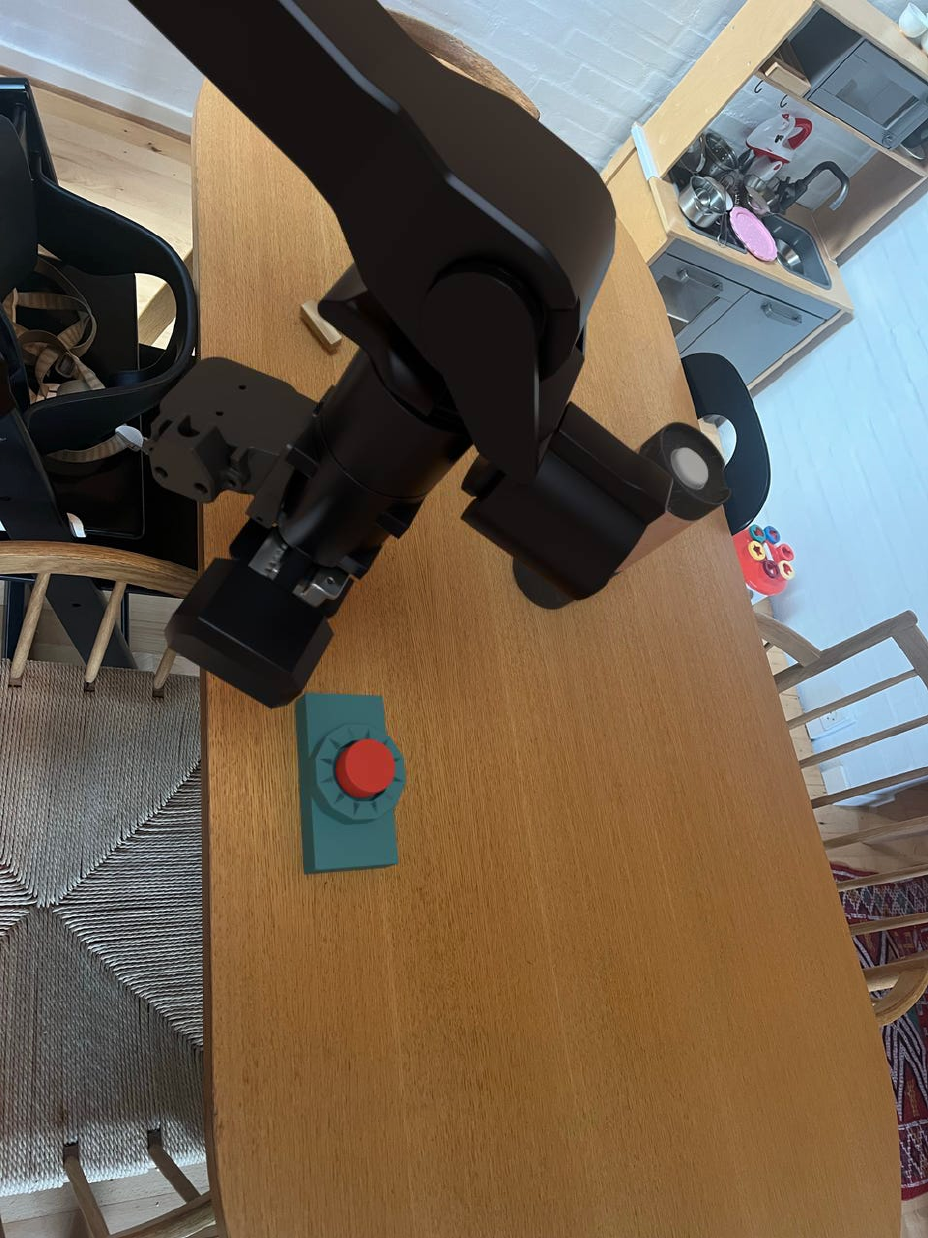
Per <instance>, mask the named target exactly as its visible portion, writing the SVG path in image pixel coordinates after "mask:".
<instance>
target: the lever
mask: <svg viewBox="0 0 928 1238" xmlns="http://www.w3.org/2000/svg"><path fill="white" fill-rule="evenodd" d="M317 305H318V303H317V302H315V300H314V299H313V298H311V299H309V300H307V301H305V302H304V303H302V304H300V307H299V314H300V316H301V317H302V319H304V321H305V322H306V324H307V325H308V326H309V327H310V329H311V330H312V331H313V333H314V334H315V335H316V337H317V338H318V339H319V340H320V342H321V343H322V344H323V346H324V347H325V348H326V349H327V351H328V352H330V353H331V352H332V351H334V350H336V349H338V348H339V347H341V346H342V342H343V337H342V335H341V333H340V332H339V331H338V330H337V329H335V328H334V327H333V326H332V325H330V324H329V323H328V322H326V321H325V320H324V319H322V318H321V317H320V315H319V313H318V310H317Z"/></svg>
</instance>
